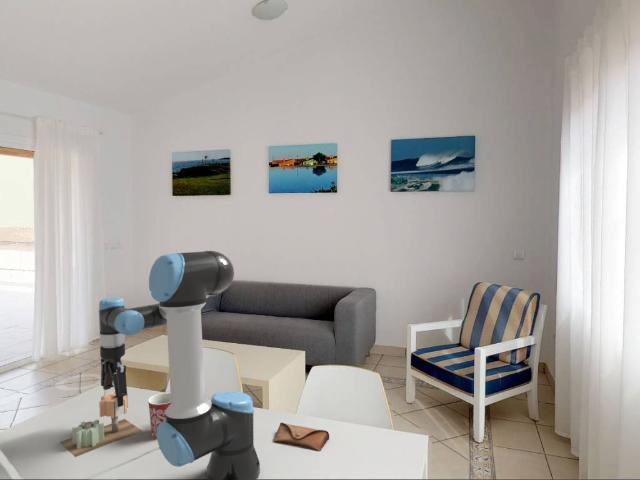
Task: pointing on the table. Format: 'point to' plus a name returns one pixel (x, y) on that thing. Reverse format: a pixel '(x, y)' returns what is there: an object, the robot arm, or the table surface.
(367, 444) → the table surface
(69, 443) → the gear board
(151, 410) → the mug
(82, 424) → the gear
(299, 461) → the table surface
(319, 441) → the sunglasses case
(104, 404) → the gear
